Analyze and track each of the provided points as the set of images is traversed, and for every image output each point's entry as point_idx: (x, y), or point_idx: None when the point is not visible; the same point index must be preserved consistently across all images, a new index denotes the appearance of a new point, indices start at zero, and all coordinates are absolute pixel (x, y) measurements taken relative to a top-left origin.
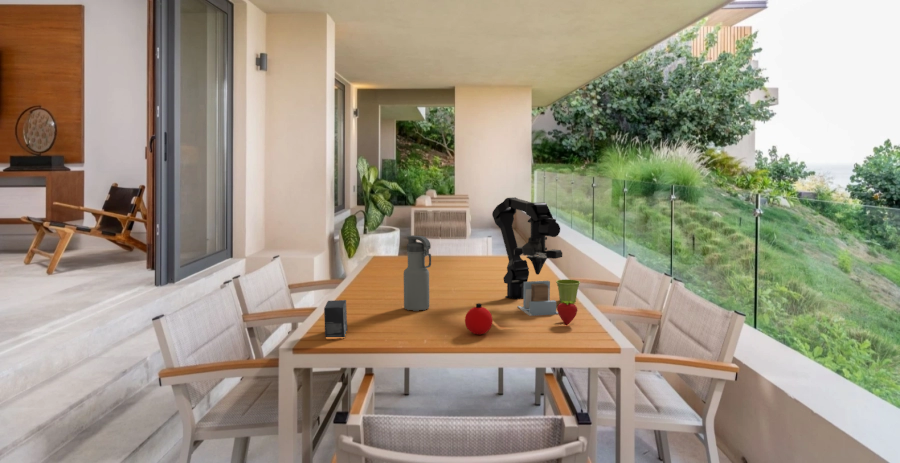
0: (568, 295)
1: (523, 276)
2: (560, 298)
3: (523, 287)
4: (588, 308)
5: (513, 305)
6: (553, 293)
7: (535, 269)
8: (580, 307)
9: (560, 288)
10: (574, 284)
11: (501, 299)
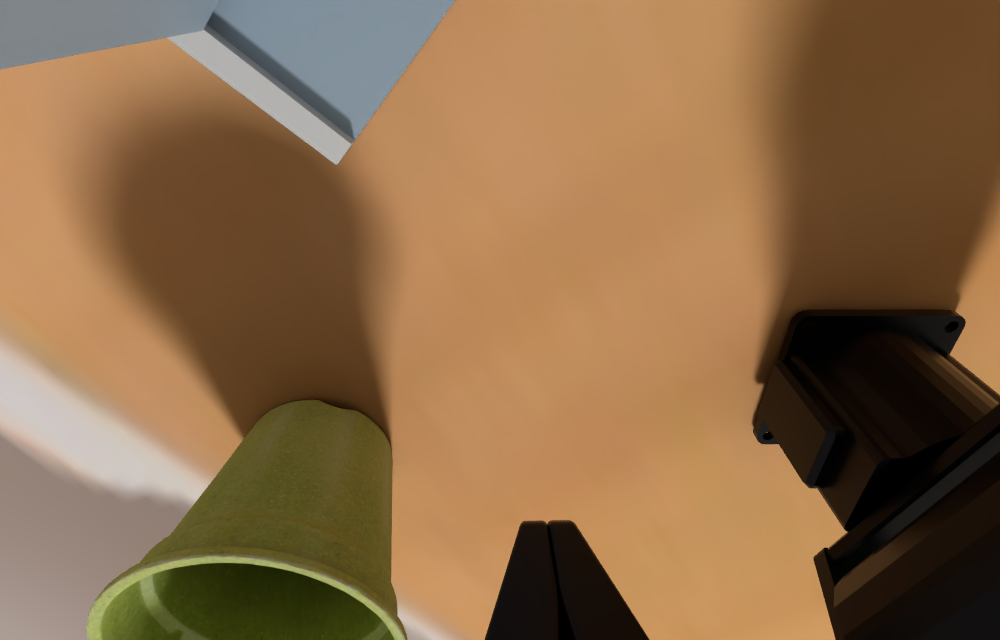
0: (231, 467)
1: (897, 569)
2: (346, 436)
3: (813, 464)
4: (29, 380)
5: (751, 16)
6: None
7: (604, 632)
8: (109, 374)
9: (300, 511)
10: (96, 601)
11: (982, 226)
